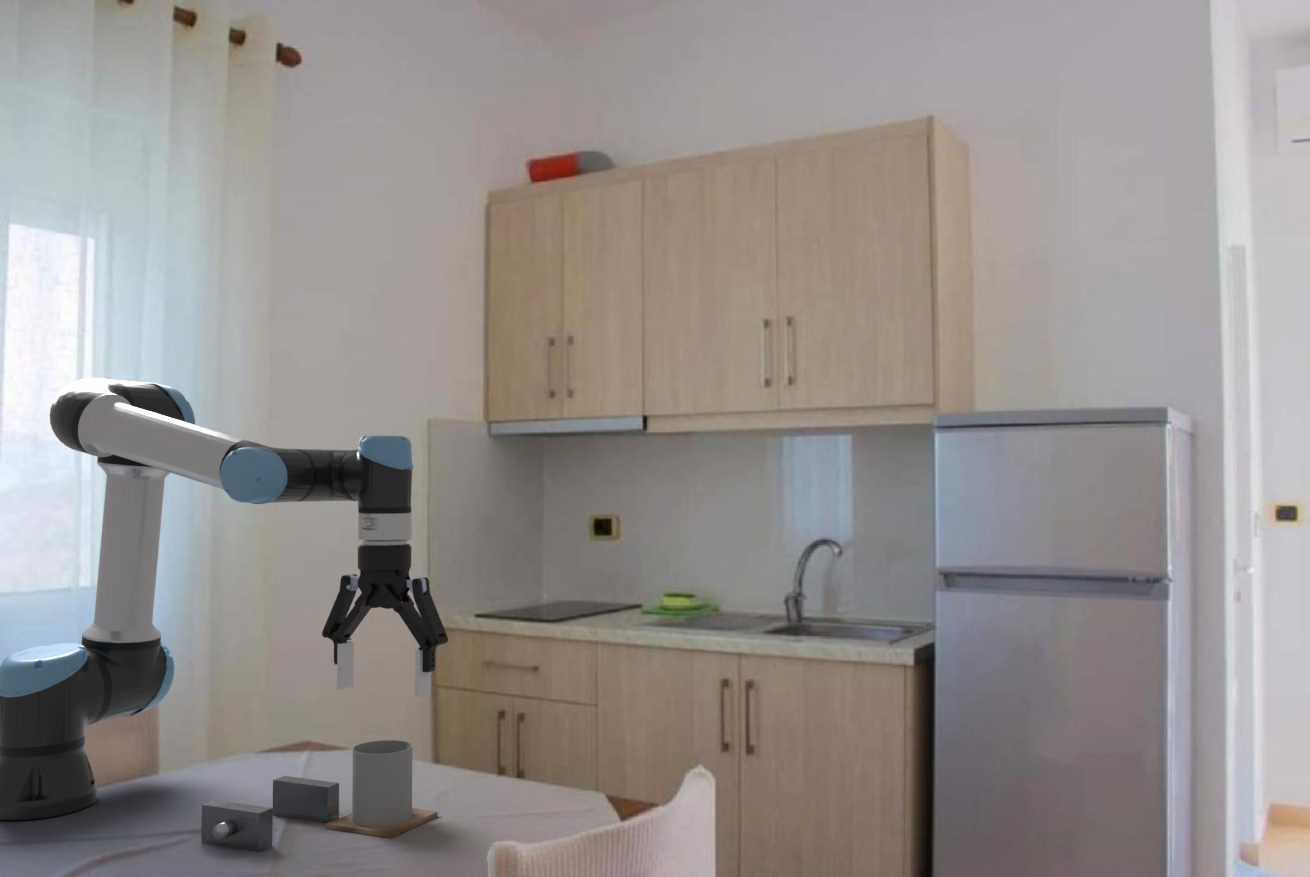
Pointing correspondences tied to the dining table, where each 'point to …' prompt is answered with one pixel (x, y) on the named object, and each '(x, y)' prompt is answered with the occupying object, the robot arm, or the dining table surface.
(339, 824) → the board
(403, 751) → the cup
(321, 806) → the vise jaws
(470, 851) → the dining table surface
